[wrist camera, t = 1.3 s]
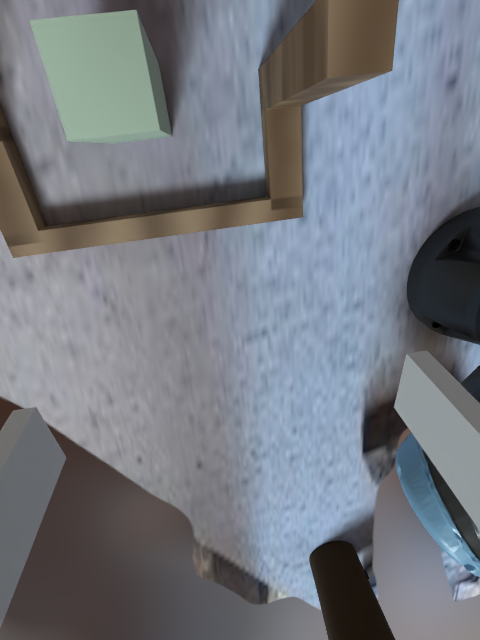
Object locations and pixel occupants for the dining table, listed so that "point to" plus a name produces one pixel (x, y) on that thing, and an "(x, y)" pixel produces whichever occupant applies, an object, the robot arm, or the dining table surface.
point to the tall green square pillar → (103, 77)
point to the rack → (277, 127)
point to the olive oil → (347, 595)
